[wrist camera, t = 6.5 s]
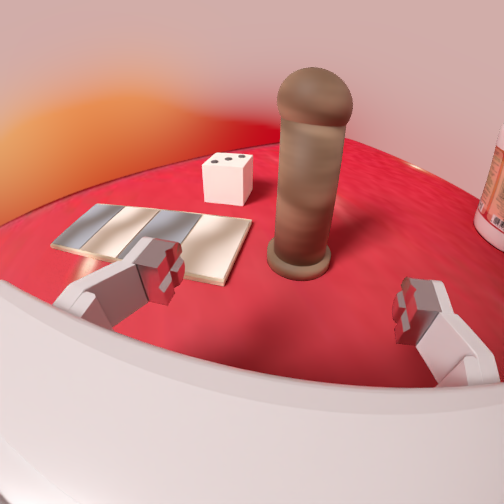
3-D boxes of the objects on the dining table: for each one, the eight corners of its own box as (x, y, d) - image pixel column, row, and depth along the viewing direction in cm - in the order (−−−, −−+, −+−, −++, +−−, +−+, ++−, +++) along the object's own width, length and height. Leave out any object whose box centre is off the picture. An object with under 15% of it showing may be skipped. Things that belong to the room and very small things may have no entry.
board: (251, 223, 27) (251, 218, 27) (223, 286, 20) (223, 281, 20) (98, 206, 31) (97, 202, 30) (51, 247, 24) (49, 244, 23)
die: (253, 188, 34) (253, 153, 31) (243, 206, 30) (242, 166, 27) (216, 184, 35) (214, 150, 32) (201, 201, 31) (198, 163, 28)
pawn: (329, 245, 24) (353, 74, 15) (328, 285, 20) (364, 73, 11) (272, 237, 25) (280, 65, 16) (261, 275, 21) (267, 62, 12)
